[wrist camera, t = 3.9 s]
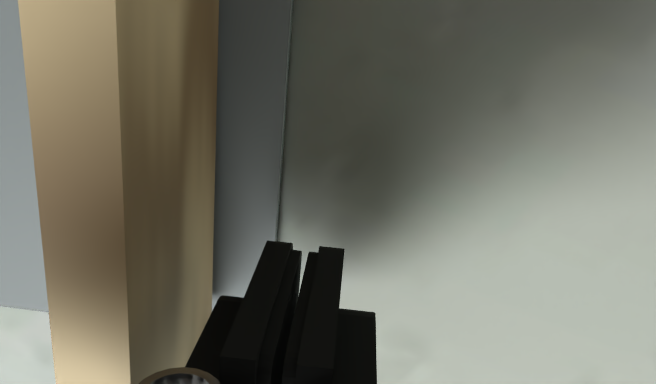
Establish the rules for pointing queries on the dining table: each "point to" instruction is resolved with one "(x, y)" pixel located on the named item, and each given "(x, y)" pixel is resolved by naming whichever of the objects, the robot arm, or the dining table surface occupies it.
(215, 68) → the tan wooden board
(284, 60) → the card
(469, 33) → the dining table surface
